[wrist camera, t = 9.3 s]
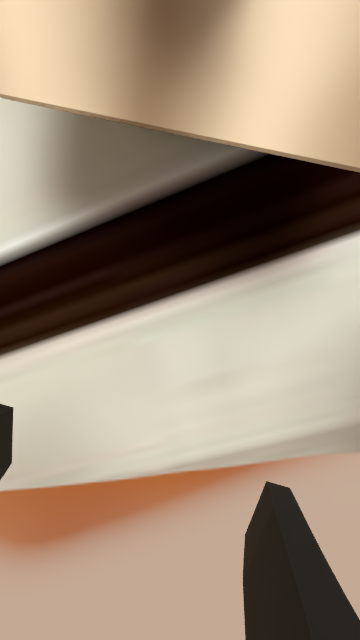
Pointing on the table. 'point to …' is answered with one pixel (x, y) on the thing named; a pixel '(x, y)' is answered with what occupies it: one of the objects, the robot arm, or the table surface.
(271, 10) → the lid
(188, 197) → the table surface
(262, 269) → the table surface
